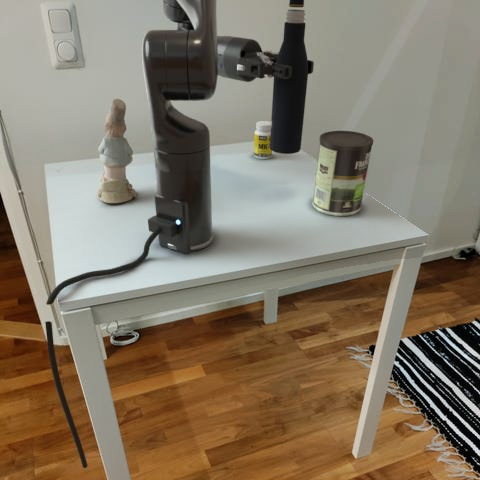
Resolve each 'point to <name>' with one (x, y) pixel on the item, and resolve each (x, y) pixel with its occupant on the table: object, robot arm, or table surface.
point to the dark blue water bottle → (290, 86)
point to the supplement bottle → (262, 140)
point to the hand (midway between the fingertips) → (301, 70)
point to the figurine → (115, 157)
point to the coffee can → (341, 172)
